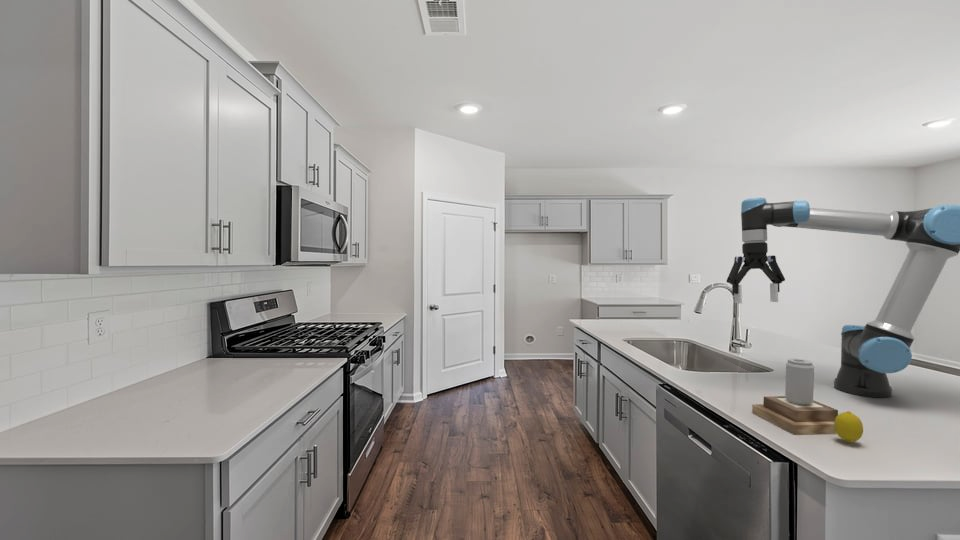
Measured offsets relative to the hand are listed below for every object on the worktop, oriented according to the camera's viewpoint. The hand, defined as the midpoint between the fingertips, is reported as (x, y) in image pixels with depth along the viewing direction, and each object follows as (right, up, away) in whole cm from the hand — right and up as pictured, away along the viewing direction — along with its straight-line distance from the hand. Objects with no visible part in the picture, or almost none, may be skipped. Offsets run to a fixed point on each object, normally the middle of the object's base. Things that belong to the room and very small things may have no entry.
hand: (756, 302), depth 152 cm
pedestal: (-7, -32, -30) cm, 44 cm away
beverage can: (-7, -26, -30) cm, 41 cm away
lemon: (-5, -32, -43) cm, 54 cm away
